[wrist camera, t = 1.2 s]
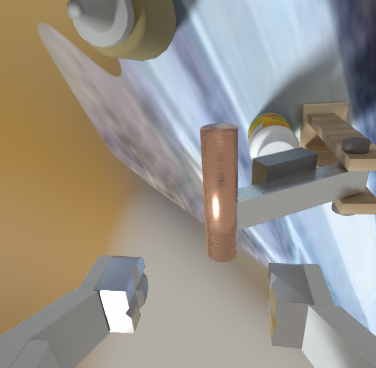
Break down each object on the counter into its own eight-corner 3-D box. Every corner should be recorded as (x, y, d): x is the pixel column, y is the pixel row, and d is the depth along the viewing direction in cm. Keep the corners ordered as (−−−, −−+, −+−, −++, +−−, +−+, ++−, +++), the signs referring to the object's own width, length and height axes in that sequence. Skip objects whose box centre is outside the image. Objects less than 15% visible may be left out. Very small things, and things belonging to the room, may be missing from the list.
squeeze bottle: (108, 42, 36) (10, 46, 20) (126, -32, 33) (23, -97, 17) (168, 69, 37) (116, 94, 21) (192, -1, 33) (152, -35, 17)
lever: (185, 121, 21) (210, 135, 17) (343, 94, 25) (388, 101, 22) (194, 236, 25) (215, 265, 22) (327, 195, 30) (362, 214, 26)
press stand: (302, 104, 36) (345, 147, 22) (345, 102, 35) (418, 145, 21) (297, 156, 39) (332, 223, 25) (337, 155, 39) (395, 224, 24)
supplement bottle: (298, 126, 38) (317, 153, 29) (271, 158, 40) (281, 191, 31) (265, 103, 37) (273, 123, 28) (239, 137, 39) (240, 165, 31)
